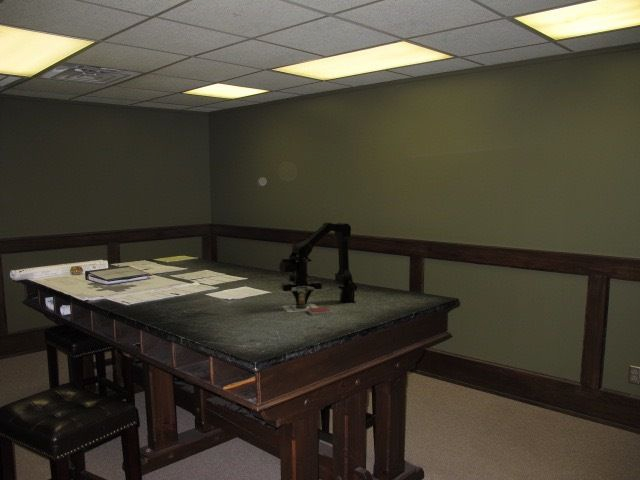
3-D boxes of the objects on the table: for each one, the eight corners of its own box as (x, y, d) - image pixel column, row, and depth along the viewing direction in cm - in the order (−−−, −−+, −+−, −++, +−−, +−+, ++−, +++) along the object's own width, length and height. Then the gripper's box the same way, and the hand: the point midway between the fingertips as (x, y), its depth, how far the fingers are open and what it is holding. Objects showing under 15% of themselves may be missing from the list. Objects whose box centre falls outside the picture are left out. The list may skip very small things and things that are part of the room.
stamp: (307, 308, 239) (307, 292, 238) (297, 308, 237) (297, 293, 236) (304, 305, 244) (304, 290, 243) (294, 306, 242) (294, 290, 241)
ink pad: (327, 309, 238) (327, 306, 238) (332, 313, 230) (332, 310, 230) (306, 311, 235) (306, 308, 235) (311, 315, 227) (311, 312, 227)
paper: (313, 304, 248) (313, 303, 248) (321, 310, 237) (321, 309, 237) (281, 306, 244) (281, 305, 244) (287, 312, 232) (287, 311, 232)
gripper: (315, 267, 249) (315, 299, 251) (277, 269, 243) (278, 301, 245) (322, 271, 238) (322, 304, 240) (283, 273, 233) (283, 307, 234)
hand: (301, 304), depth 240 cm, fingers closed on stamp, 4 cm apart
